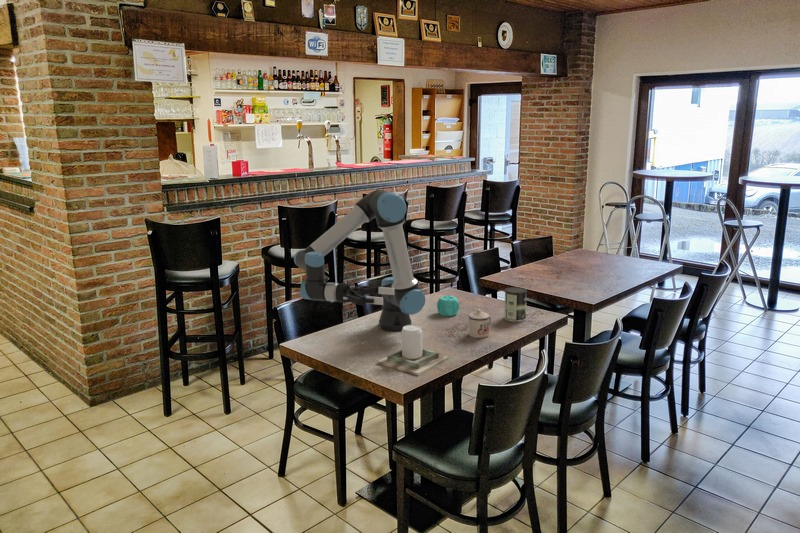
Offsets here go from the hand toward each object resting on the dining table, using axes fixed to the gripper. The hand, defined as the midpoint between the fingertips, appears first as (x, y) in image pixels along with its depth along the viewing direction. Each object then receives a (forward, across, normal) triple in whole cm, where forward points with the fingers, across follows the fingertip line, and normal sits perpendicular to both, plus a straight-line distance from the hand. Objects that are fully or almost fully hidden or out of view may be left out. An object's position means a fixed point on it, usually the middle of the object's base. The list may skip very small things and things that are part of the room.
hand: (388, 296), depth 237 cm
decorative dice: (+9, -62, -26) cm, 68 cm away
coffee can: (+41, -63, -26) cm, 80 cm away
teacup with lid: (+30, -37, -26) cm, 54 cm away
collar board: (+10, 0, -26) cm, 28 cm away
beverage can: (+8, -2, -25) cm, 27 cm away
